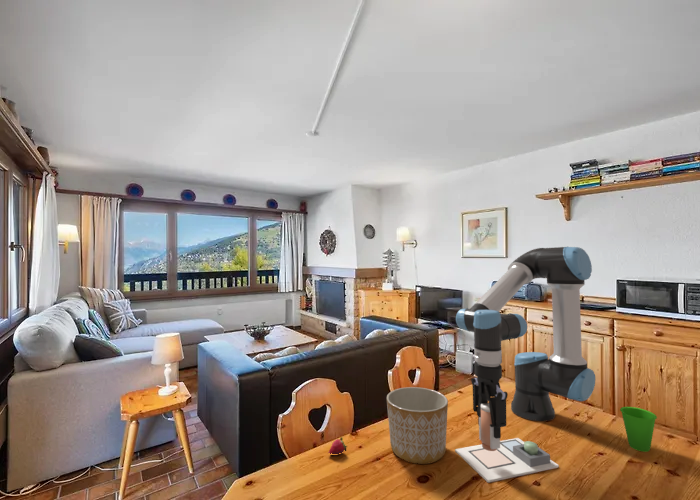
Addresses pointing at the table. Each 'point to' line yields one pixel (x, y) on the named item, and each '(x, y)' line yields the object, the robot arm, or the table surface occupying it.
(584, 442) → the table surface
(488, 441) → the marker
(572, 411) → the table surface
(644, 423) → the cup
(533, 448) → the button
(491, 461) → the sheet
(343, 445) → the fruit
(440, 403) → the planter
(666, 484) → the table surface
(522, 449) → the button housing
